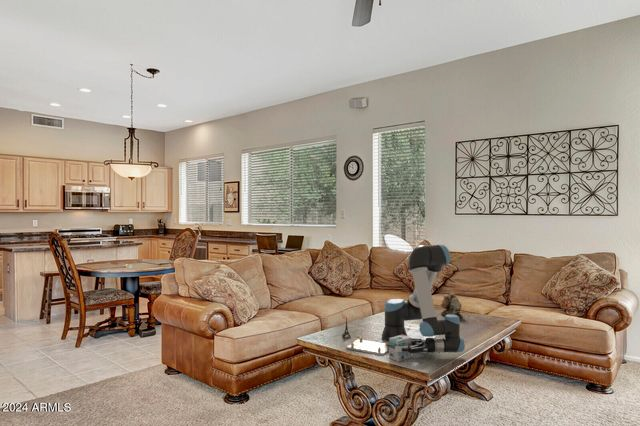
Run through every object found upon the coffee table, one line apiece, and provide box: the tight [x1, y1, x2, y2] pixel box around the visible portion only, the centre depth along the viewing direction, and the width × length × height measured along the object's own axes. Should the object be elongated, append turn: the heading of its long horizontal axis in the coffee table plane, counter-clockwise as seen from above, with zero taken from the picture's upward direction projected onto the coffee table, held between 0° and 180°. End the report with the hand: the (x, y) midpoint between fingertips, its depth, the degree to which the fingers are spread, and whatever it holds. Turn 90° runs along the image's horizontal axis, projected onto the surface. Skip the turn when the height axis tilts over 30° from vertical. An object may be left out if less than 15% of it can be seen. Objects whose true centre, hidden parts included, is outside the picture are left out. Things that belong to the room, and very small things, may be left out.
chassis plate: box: [345, 336, 389, 356], centre depth 246 cm, size 16×22×3 cm
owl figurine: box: [440, 292, 464, 320], centre depth 315 cm, size 18×12×17 cm, turn 34°
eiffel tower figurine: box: [333, 317, 361, 340], centre depth 266 cm, size 15×10×13 cm
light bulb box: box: [388, 335, 412, 362], centre depth 230 cm, size 11×7×11 cm, turn 126°
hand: (392, 345), depth 230 cm, fingers closed on light bulb box, 11 cm apart
